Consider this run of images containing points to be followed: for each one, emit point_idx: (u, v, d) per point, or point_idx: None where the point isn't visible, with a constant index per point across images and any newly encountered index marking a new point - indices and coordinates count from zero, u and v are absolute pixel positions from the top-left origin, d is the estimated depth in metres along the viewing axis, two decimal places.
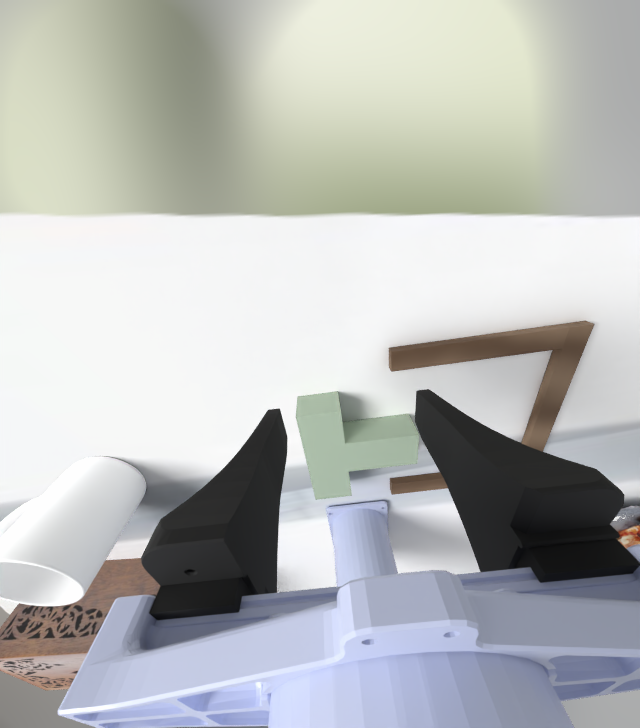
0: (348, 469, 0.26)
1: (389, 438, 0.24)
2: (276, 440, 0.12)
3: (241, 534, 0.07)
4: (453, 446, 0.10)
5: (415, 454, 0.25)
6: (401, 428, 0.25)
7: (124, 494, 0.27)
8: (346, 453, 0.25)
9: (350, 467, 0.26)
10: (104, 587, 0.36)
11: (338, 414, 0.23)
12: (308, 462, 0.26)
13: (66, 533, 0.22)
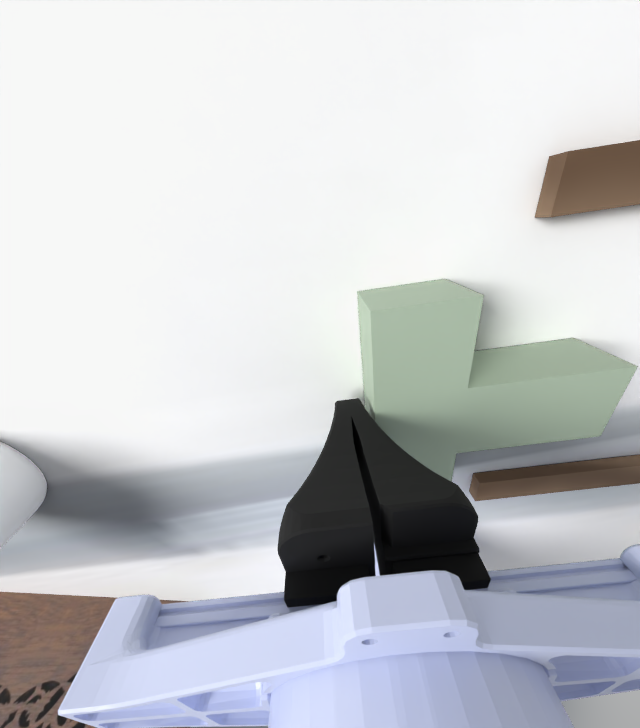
0: (456, 448, 0.13)
1: (569, 376, 0.11)
2: (352, 431, 0.12)
3: None
4: (362, 457, 0.10)
5: (606, 415, 0.12)
6: (581, 359, 0.12)
7: None
8: (463, 412, 0.12)
9: (461, 445, 0.13)
10: (21, 643, 0.22)
11: (475, 306, 0.09)
12: None
13: None
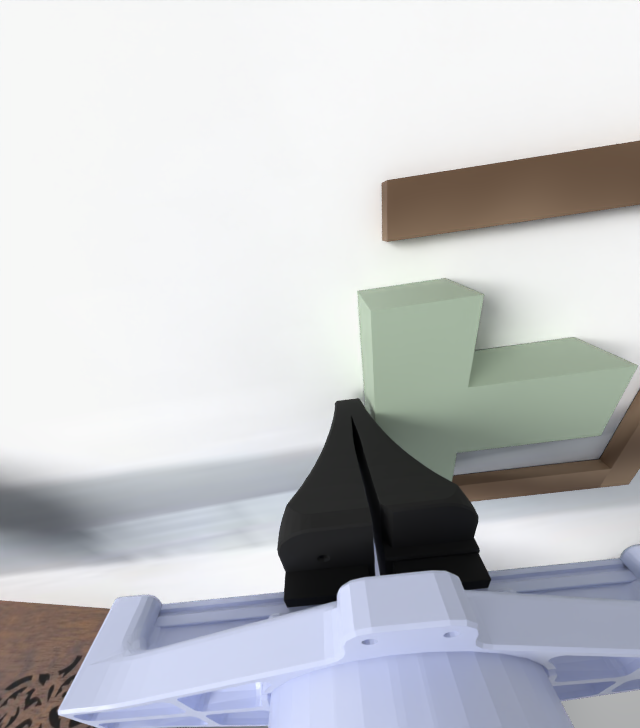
0: (456, 448, 0.13)
1: (569, 375, 0.11)
2: (352, 431, 0.12)
3: None
4: (362, 457, 0.10)
5: (606, 414, 0.12)
6: (581, 358, 0.12)
7: None
8: (464, 411, 0.12)
9: (461, 445, 0.13)
10: None
11: (475, 305, 0.09)
12: None
13: None
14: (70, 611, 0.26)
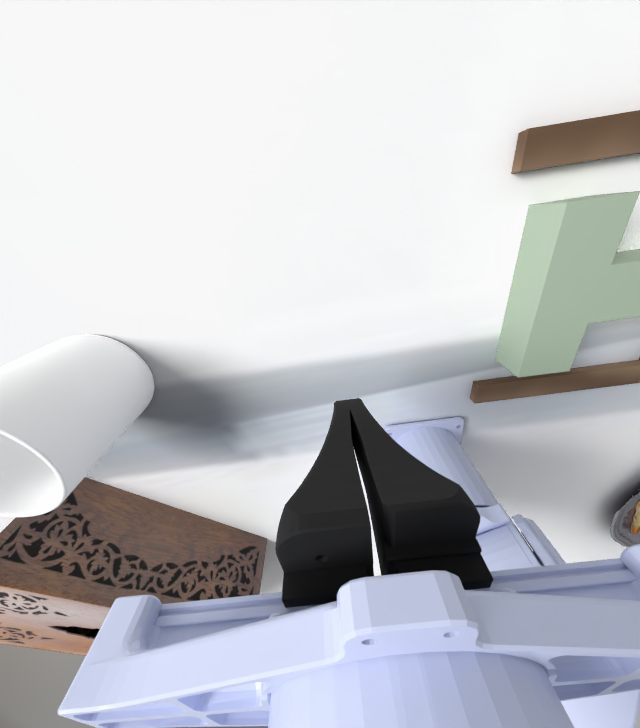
0: (588, 319, 0.18)
1: None
2: (351, 431, 0.12)
3: None
4: (363, 457, 0.10)
5: None
6: None
7: (125, 379, 0.19)
8: (603, 285, 0.17)
9: (593, 316, 0.18)
10: (145, 532, 0.29)
11: (633, 199, 0.15)
12: (541, 303, 0.18)
13: (38, 397, 0.14)
14: (209, 522, 0.33)
